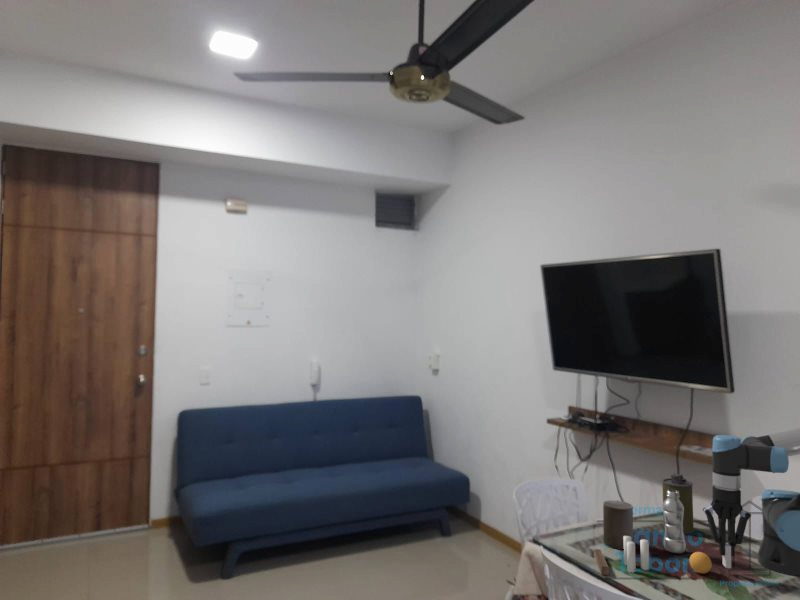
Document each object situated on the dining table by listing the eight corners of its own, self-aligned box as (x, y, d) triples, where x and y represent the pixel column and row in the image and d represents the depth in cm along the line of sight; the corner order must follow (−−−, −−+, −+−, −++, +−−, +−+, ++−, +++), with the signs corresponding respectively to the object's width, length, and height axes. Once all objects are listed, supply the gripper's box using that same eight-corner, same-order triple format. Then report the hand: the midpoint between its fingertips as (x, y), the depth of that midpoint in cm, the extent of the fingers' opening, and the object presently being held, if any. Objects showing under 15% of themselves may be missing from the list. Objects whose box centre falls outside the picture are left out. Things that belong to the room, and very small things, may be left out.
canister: (687, 536, 203) (685, 479, 204) (658, 528, 211) (656, 474, 212) (699, 529, 211) (697, 474, 212) (670, 522, 218) (668, 469, 219)
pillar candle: (603, 547, 193) (603, 503, 193) (603, 537, 202) (602, 495, 203) (634, 551, 190) (634, 506, 190) (632, 541, 199) (632, 497, 200)
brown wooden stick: (600, 557, 184) (600, 549, 185) (608, 575, 171) (608, 566, 171) (594, 556, 185) (594, 549, 185) (601, 574, 171) (601, 566, 171)
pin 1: (631, 563, 180) (630, 535, 180) (632, 566, 177) (632, 538, 178) (623, 562, 180) (622, 535, 180) (624, 565, 178) (624, 538, 178)
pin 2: (634, 569, 175) (634, 541, 175) (636, 573, 172) (635, 544, 173) (626, 569, 175) (625, 541, 176) (628, 572, 173) (627, 543, 173)
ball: (707, 569, 175) (707, 549, 175) (715, 577, 169) (714, 557, 169) (687, 567, 176) (686, 548, 176) (693, 576, 170) (692, 555, 170)
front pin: (648, 567, 176) (647, 539, 177) (650, 570, 174) (649, 542, 174) (640, 566, 177) (639, 539, 177) (641, 570, 174) (641, 541, 175)
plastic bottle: (688, 556, 185) (686, 494, 186) (666, 555, 186) (664, 493, 187) (682, 549, 191) (681, 488, 192) (661, 547, 192) (659, 487, 194)
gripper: (744, 485, 175) (745, 563, 174) (699, 482, 177) (699, 559, 176) (755, 492, 168) (755, 573, 166) (707, 489, 170) (707, 569, 169)
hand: (726, 566), depth 171 cm, fingers closed
